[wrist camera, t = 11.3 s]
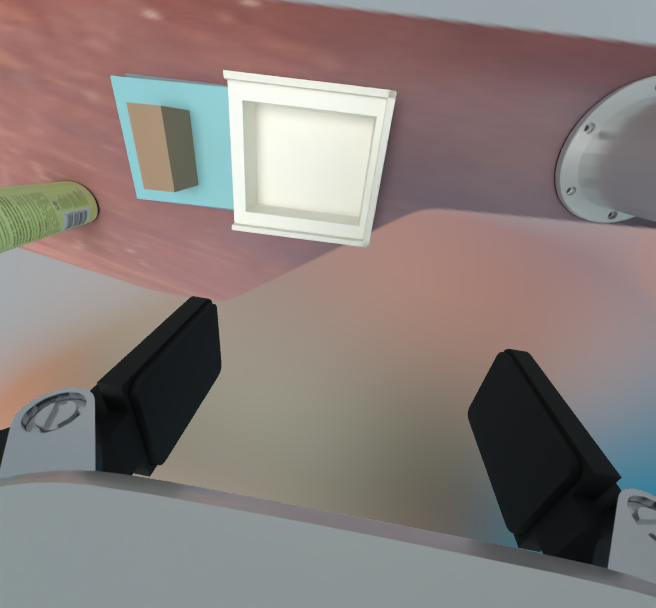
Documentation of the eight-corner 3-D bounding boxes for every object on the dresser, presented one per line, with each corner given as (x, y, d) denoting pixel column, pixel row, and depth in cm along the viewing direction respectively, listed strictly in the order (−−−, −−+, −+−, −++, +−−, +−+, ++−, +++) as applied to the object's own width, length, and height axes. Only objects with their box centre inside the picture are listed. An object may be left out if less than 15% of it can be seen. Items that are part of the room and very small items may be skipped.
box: (389, 99, 29) (396, 90, 23) (366, 231, 35) (368, 247, 30) (246, 82, 29) (223, 70, 24) (249, 216, 35) (232, 229, 30)
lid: (235, 88, 29) (209, 78, 24) (241, 208, 35) (222, 220, 30) (115, 77, 29) (65, 64, 24) (141, 197, 35) (105, 207, 30)
